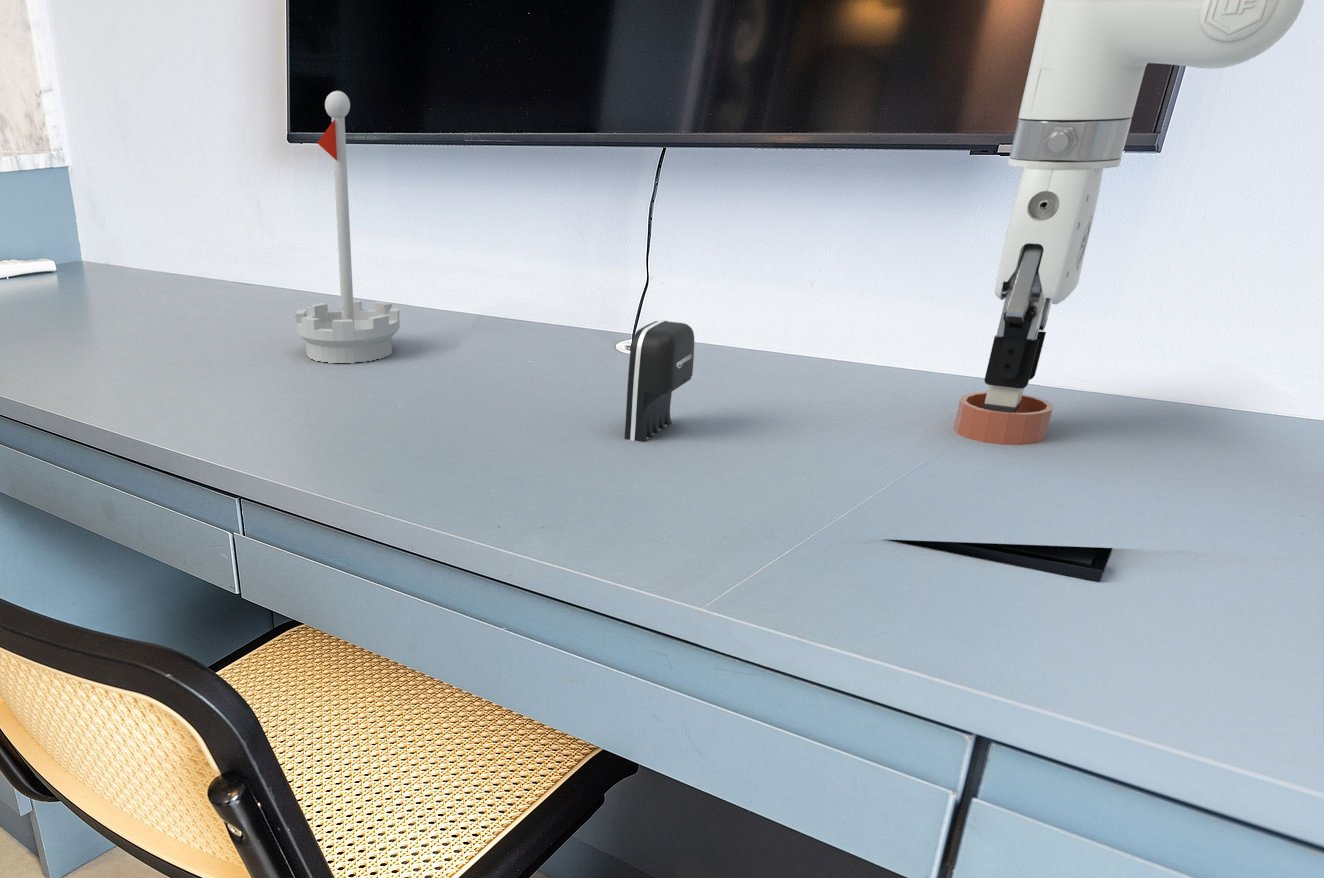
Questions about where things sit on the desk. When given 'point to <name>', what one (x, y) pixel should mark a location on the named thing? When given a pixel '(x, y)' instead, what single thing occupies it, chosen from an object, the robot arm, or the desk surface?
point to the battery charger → (656, 375)
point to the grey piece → (1004, 396)
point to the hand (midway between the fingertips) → (1009, 379)
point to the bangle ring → (1003, 421)
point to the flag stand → (345, 276)
